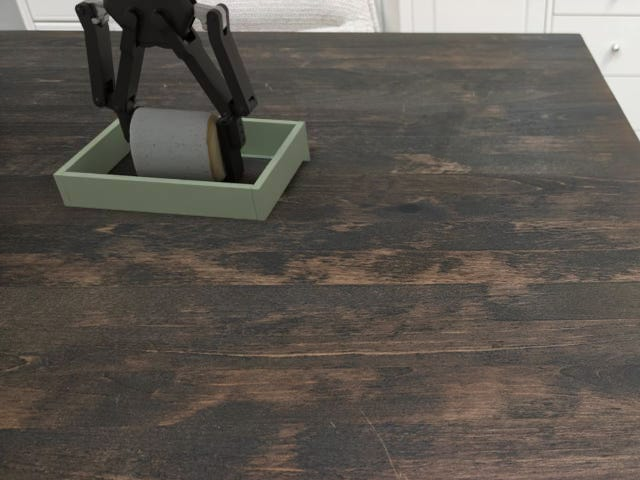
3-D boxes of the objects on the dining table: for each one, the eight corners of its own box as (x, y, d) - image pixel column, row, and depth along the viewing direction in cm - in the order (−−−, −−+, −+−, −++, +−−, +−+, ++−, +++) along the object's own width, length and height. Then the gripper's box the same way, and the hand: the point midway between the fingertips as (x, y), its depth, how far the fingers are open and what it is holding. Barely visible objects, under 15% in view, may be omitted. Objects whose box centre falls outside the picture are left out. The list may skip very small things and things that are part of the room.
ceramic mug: (224, 196, 76) (208, 123, 71) (142, 198, 75) (119, 125, 70) (240, 152, 84) (227, 83, 79) (166, 153, 83) (148, 85, 78)
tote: (69, 217, 75) (52, 174, 72) (138, 150, 87) (126, 110, 84) (267, 232, 74) (258, 189, 71) (310, 161, 86) (305, 121, 82)
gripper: (266, -70, 67) (302, 163, 81) (39, -80, 68) (114, 151, 83) (237, -50, 61) (281, 197, 76) (-11, -62, 62) (80, 183, 77)
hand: (194, 173), depth 79 cm, fingers closed on ceramic mug, 9 cm apart
